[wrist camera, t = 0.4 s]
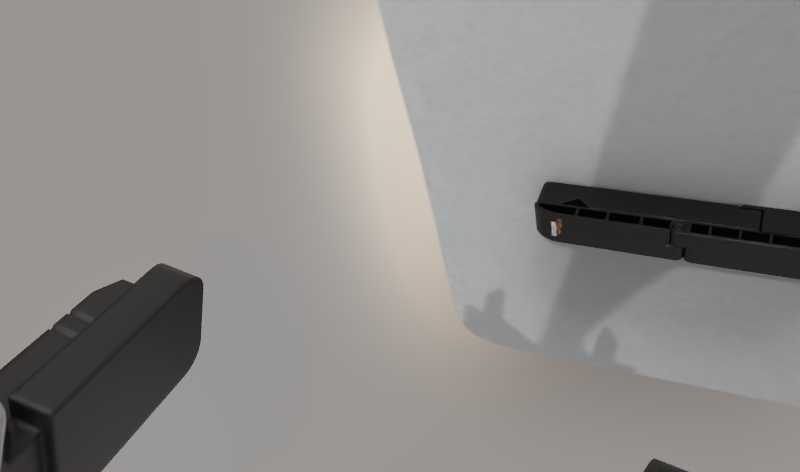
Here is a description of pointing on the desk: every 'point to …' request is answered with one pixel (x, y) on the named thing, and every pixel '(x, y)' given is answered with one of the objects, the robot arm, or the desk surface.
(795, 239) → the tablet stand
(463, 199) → the desk surface
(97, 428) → the robot arm
